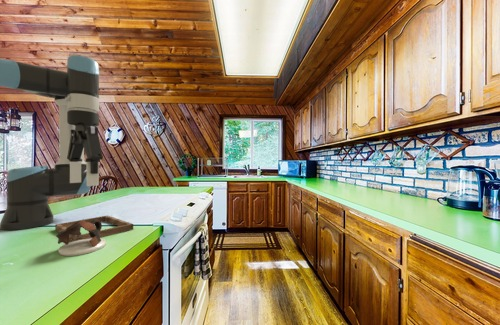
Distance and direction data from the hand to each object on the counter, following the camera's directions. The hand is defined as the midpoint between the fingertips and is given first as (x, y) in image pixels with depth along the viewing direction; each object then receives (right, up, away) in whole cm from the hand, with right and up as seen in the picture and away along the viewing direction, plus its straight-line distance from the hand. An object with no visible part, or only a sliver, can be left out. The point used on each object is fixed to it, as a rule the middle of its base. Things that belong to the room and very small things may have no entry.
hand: (83, 184), depth 66 cm
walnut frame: (-9, -19, +17) cm, 27 cm away
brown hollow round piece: (0, -18, 0) cm, 18 cm away
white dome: (0, -19, 0) cm, 19 cm away
